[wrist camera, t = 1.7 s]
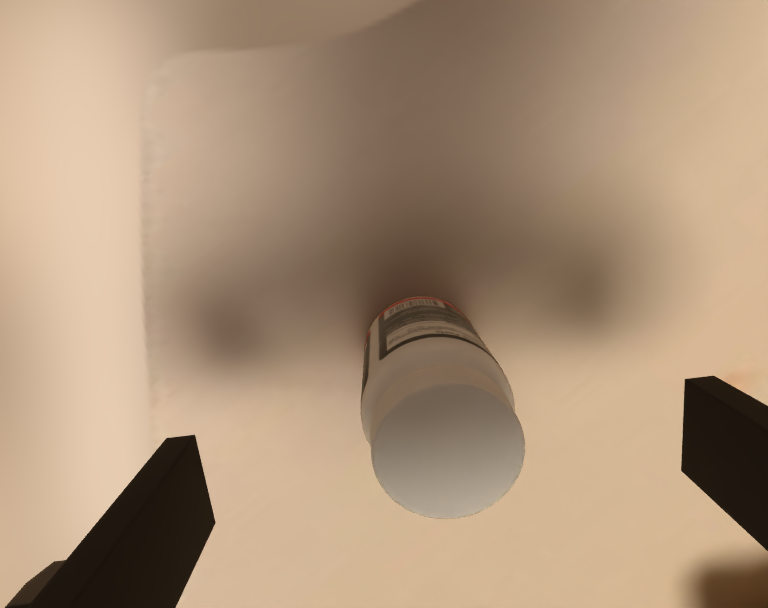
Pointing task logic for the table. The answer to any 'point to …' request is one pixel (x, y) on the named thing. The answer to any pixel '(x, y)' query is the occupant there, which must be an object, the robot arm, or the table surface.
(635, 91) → the table surface
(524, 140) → the table surface
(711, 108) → the table surface
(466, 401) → the pill bottle
